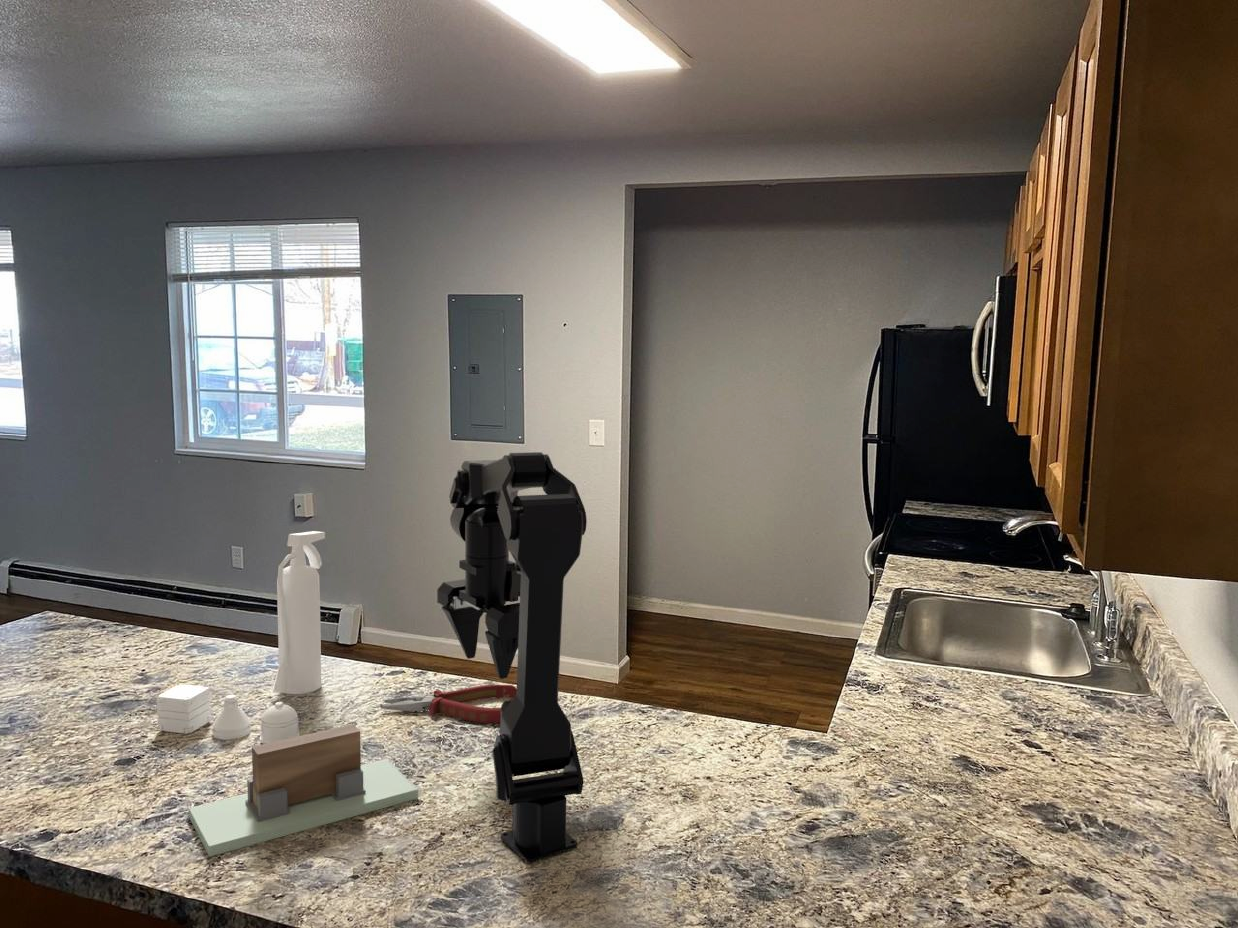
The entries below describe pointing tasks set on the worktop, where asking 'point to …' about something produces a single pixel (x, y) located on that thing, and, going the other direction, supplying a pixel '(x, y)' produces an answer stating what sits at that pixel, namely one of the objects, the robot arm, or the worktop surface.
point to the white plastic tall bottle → (299, 617)
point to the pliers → (457, 703)
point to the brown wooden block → (305, 763)
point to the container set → (221, 715)
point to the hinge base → (297, 808)
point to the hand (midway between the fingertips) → (486, 667)
